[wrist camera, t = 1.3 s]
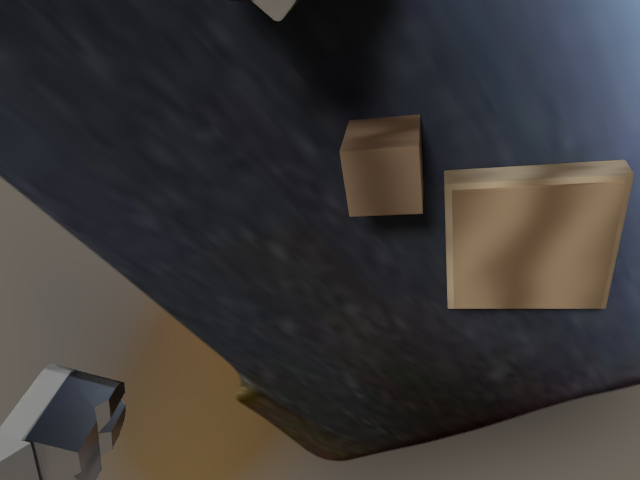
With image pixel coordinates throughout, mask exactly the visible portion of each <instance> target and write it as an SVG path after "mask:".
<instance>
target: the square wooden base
mask: <svg viewBox="0 0 640 480" xmlns="http://www.w3.org/2000/svg"><path fill="white" fill-rule="evenodd" d="M633 178H634V173H633V171H632V170H631V168H630V167H629V165H628V164H627V162H626V160H611V161H595V162H578V163H562V164H546V165H529V166H513V167H497V168H480V169H464V170H448V171H444V192H445V229H446V265H447V299H448V309H606V304H607V299H608V295H609V290H610V285H611V281H612V276H613V271H614V267H615V262H616V257H617V253H618V248H619V243H620V238H621V234H622V229H623V224H624V220H625V215H626V210H627V206H628V201H629V196H630V192H631V187H632V182H633Z"/></svg>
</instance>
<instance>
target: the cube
mask: <svg viewBox="0 0 640 480" xmlns="http://www.w3.org/2000/svg"><path fill="white" fill-rule="evenodd" d="M340 158H341V164H342V171H343V177H344V184H345V190H346V197H347V203H348V210H349V216H350V217H353V216H377V215H400V214H423V159H422V141H421V122H420V114H419V115H408V116H396V117H385V118H373V119H362V120H350V121H349V123H348V126H347V129H346V132H345V136H344V139H343V142H342V145H341V148H340Z"/></svg>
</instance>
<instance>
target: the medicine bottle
mask: <svg viewBox="0 0 640 480" xmlns="http://www.w3.org/2000/svg"><path fill="white" fill-rule="evenodd" d="M231 1H239V2H240V1H252V2H254V3H255V4H256V5H257V6H258V7H259V8H260V9H262V10H263V11H264V12H265V13H266V14H267V15H268V16H270V17H271V18H272V19H273V20H275V21H281V20H282V19H283V18H284V17H285V16H286V15H287V14H288V13H289V12H290V11H291V10H292V9H293V7H294V6H295V5H296V4H297V3H298V2H299V1H300V0H231Z"/></svg>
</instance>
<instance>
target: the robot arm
mask: <svg viewBox="0 0 640 480" xmlns="http://www.w3.org/2000/svg"><path fill="white" fill-rule="evenodd" d="M124 393H125V387H124V382H120V381H116V380H112V379H109V378H105V377H101V376H97V375H93V374H89V373H85V372H81V371H78V370H75V369H71V368H68V367H63V366H59V365H55V364H50V365H49V366H47V367H46V368H45V369H44V370H42V372H41V373H40V374H39V376H38V377H37V378H36V380H35V381H34V383H33V384H32V385H31V387H30V388H29V389H28V391H27V392H26V393H25V394H24V396H23V397H22V398H21V400H20V402H19V403H18V404H17V405H16V407H15V408H14V409H13V411H12V412H11V413H10V415H9V416H8V417H7V419H6V420H5V421H4V423H3V424H2V425H1V427H0V480H96V479H97V477H98V475H99V474H100V472H101V469H102V467H101V456H102V455H104V454H105V453H107V452H108V451H110V450H111V449H113V447H114V445H115V443H116V440H117V438H118V437H119V434H120V431H121V428H122V426H123V423H124V419H125V413H126V405H125V404H124V403H123V401H122V400H121V399H122V397H123V395H124Z"/></svg>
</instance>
